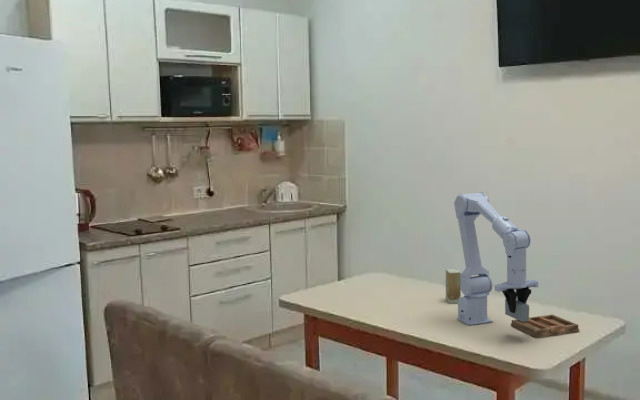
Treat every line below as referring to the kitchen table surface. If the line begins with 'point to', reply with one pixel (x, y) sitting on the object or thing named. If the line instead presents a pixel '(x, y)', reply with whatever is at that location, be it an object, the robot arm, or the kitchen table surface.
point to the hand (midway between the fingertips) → (516, 311)
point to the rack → (545, 326)
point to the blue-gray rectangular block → (518, 311)
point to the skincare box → (453, 285)
